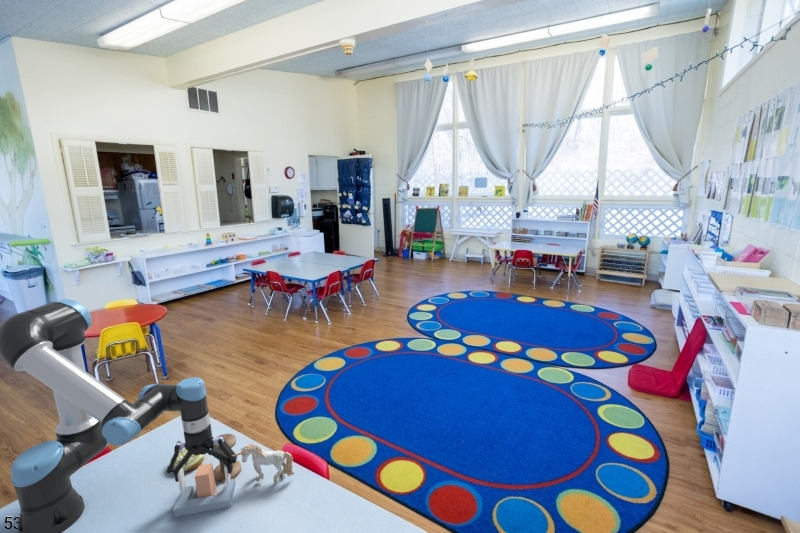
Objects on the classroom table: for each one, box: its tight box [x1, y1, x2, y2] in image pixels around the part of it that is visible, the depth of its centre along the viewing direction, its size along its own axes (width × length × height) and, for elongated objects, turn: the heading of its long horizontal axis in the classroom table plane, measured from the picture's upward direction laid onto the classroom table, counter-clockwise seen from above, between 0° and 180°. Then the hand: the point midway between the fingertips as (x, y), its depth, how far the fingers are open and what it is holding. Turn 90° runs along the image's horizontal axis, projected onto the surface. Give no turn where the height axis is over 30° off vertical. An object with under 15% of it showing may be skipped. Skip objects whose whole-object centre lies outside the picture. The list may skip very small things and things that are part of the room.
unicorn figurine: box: [232, 443, 296, 483], centre depth 132 cm, size 7×20×13 cm, turn 109°
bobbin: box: [213, 433, 242, 483], centre depth 136 cm, size 9×9×12 cm
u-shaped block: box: [173, 478, 237, 517], centre depth 125 cm, size 16×9×2 cm, turn 102°
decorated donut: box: [170, 448, 205, 472], centre depth 142 cm, size 10×11×4 cm
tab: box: [194, 462, 217, 498], centre depth 126 cm, size 4×5×10 cm
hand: (206, 485), depth 126 cm, fingers open, 13 cm apart
